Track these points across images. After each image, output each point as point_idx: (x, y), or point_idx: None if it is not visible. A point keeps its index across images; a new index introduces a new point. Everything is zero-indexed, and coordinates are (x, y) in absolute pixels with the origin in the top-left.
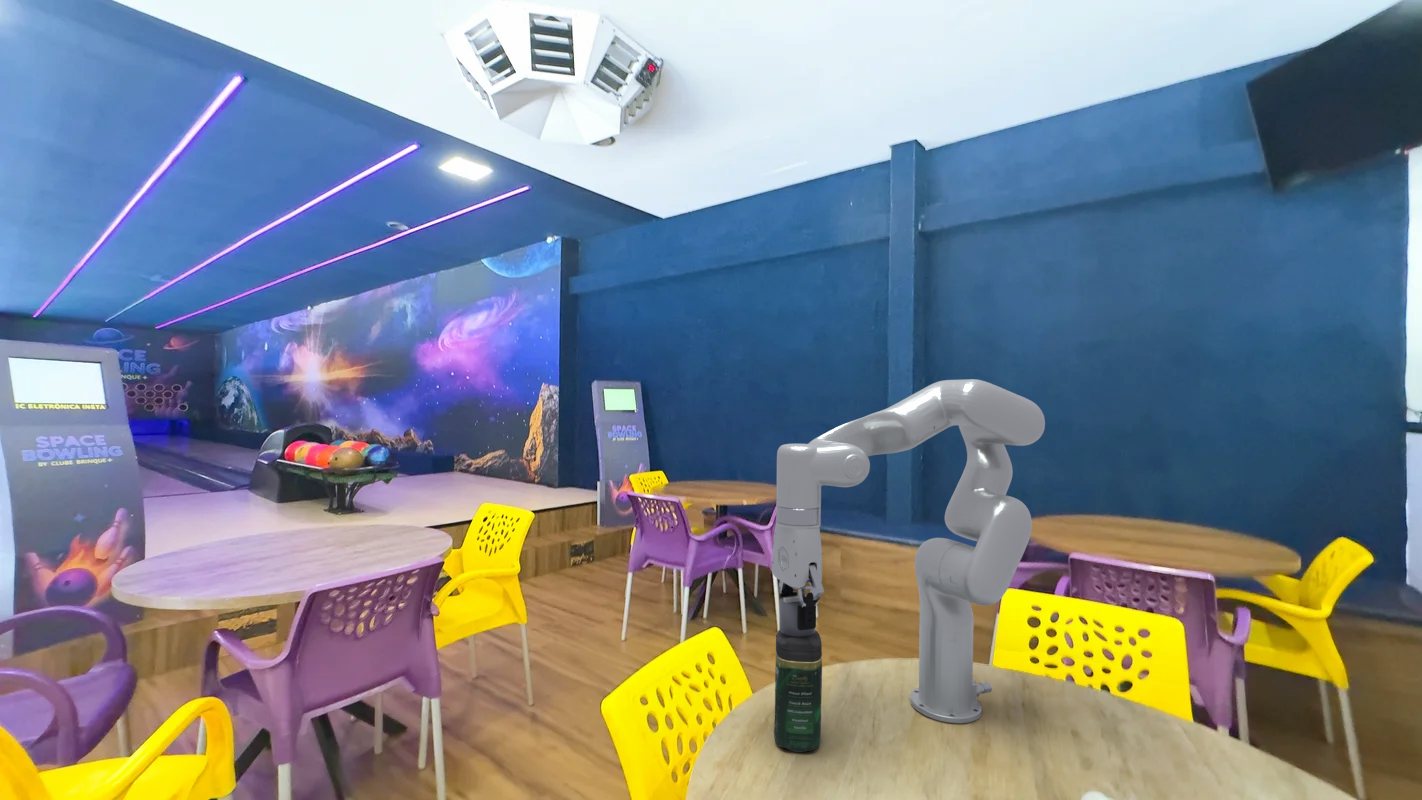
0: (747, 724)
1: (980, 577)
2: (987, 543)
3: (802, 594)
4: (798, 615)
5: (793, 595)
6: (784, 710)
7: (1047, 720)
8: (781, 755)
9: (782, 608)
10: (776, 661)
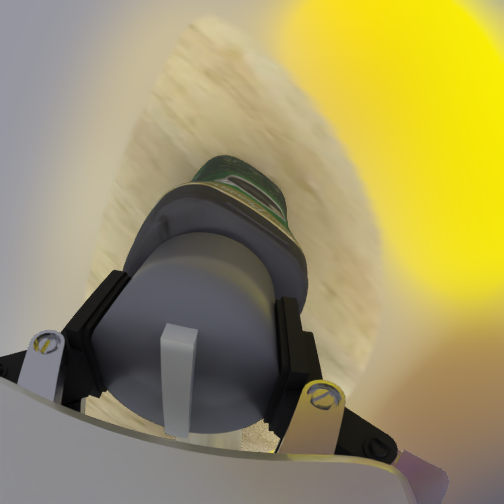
0: (314, 152)
1: None
2: None
3: (21, 378)
4: (92, 301)
5: (261, 409)
6: (205, 170)
7: (162, 426)
8: (207, 149)
9: (175, 285)
10: (223, 185)
